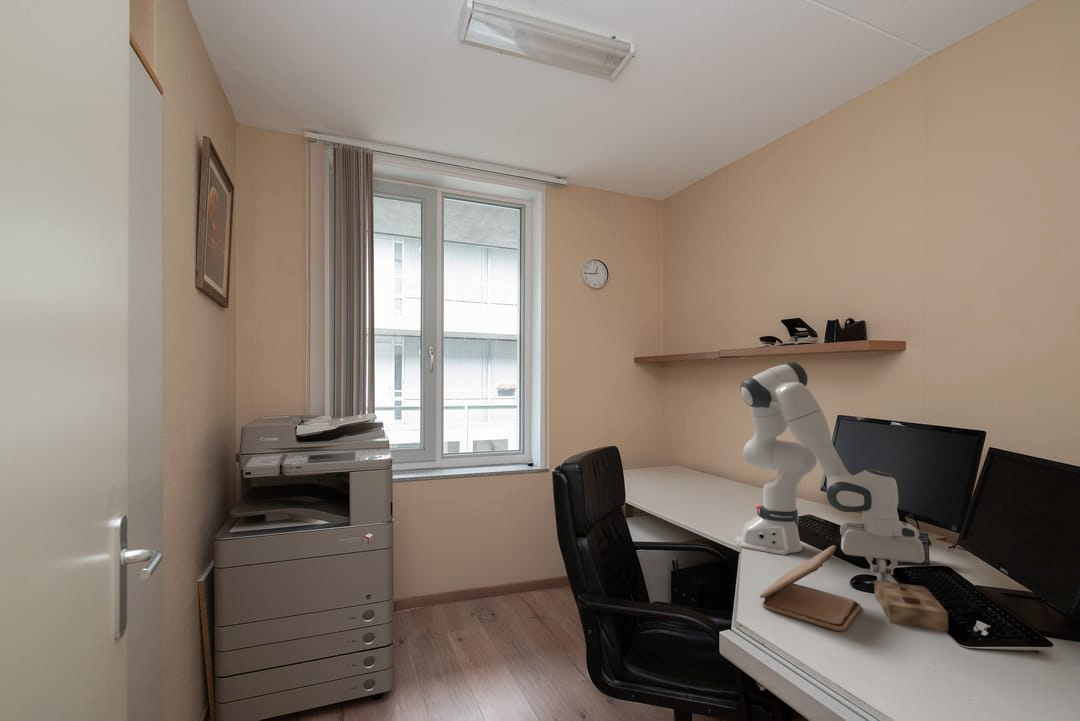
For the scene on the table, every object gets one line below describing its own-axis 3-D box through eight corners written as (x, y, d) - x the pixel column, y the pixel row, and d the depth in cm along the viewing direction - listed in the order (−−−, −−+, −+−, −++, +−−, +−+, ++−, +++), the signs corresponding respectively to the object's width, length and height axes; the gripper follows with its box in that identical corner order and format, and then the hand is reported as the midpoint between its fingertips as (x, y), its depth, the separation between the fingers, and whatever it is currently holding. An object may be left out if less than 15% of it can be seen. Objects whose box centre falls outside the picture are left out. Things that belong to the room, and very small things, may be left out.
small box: (917, 557, 169) (917, 527, 169) (931, 565, 163) (930, 533, 163) (885, 557, 170) (884, 526, 170) (897, 564, 164) (896, 532, 164)
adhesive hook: (972, 632, 121) (972, 620, 121) (978, 630, 122) (978, 617, 122) (987, 638, 118) (987, 625, 118) (993, 636, 119) (993, 623, 119)
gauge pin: (878, 591, 143) (877, 553, 144) (876, 588, 145) (875, 550, 146) (888, 592, 142) (887, 554, 143) (886, 589, 145) (884, 551, 145)
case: (783, 584, 149) (781, 531, 149) (864, 607, 134) (862, 548, 134) (756, 608, 135) (754, 549, 135) (843, 636, 120) (841, 570, 120)
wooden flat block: (890, 622, 126) (889, 604, 126) (874, 595, 140) (874, 580, 141) (948, 631, 121) (947, 612, 121) (925, 603, 136) (925, 586, 136)
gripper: (841, 524, 145) (843, 571, 145) (926, 532, 138) (927, 582, 137) (838, 518, 151) (839, 564, 151) (918, 526, 144) (919, 573, 143)
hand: (881, 572), depth 144 cm, fingers closed on gauge pin, 2 cm apart
